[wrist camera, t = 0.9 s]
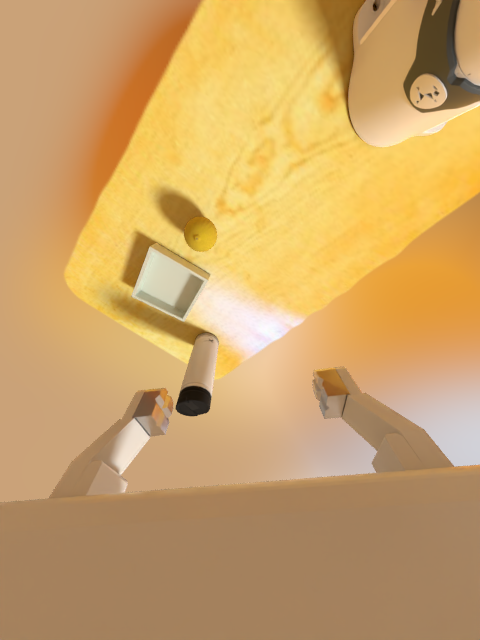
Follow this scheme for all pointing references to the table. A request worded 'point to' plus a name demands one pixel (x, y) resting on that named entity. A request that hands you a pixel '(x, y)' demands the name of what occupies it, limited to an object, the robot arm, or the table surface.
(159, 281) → the bin
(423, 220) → the table surface
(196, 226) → the lemon
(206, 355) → the travel mug
